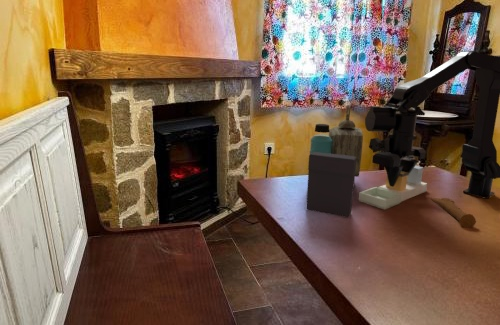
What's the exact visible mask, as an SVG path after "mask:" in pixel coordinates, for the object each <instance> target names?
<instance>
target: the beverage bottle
mask: <svg viewBox="0 0 500 325" xmlns="http://www.w3.org/2000/svg"><path fill="white" fill-rule="evenodd" d="M329 130H330V125H329V124H328V123H327V124H326V123H317V124H315V127H314V132H316V133H329ZM331 147H332V139H331V138H330V137H329V135H327V134H314V135H313V136H312V137H311V138H310V149H309V155H310V154H311V153H313V152H321V153H330V154H331ZM309 155H308V156H309ZM308 174H309V171H308ZM308 174H307V175H308Z"/></svg>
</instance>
